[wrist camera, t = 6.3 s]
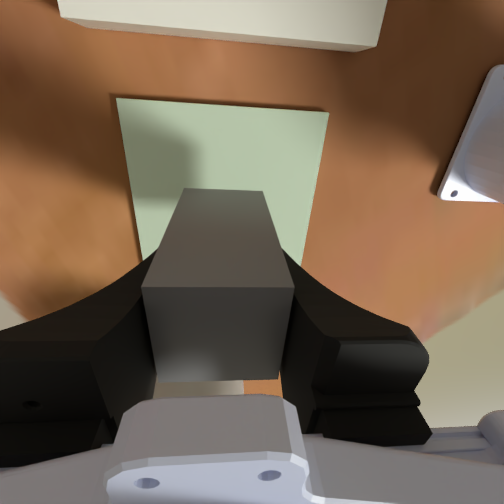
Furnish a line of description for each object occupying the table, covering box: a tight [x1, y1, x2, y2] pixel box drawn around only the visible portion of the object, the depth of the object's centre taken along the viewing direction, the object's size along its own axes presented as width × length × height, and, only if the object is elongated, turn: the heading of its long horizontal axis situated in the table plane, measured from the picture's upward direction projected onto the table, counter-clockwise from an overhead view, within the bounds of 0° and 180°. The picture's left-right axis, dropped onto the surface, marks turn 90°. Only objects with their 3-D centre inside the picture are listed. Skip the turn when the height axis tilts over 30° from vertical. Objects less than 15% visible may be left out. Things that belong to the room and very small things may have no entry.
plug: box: [141, 188, 295, 383], centre depth 12 cm, size 4×4×8 cm
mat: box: [116, 98, 329, 267], centre depth 19 cm, size 12×12×1 cm
